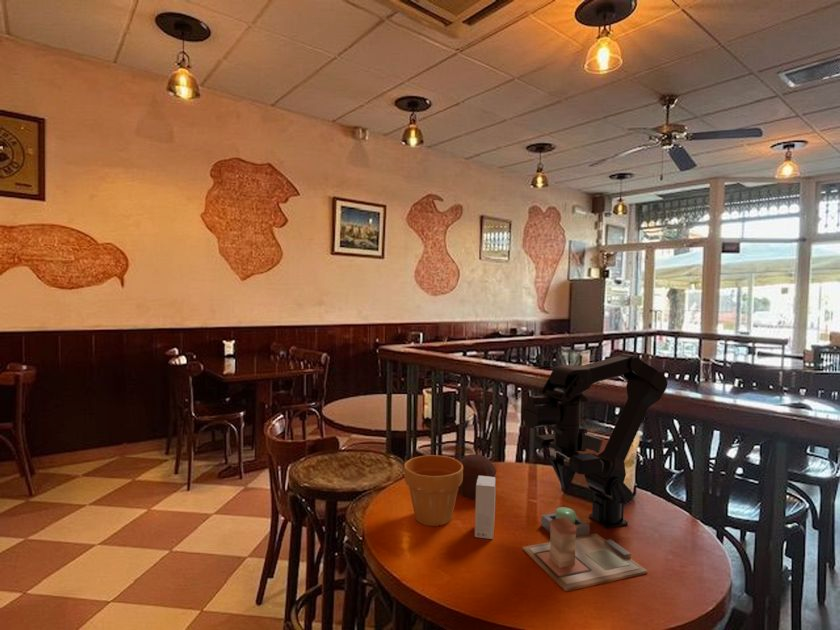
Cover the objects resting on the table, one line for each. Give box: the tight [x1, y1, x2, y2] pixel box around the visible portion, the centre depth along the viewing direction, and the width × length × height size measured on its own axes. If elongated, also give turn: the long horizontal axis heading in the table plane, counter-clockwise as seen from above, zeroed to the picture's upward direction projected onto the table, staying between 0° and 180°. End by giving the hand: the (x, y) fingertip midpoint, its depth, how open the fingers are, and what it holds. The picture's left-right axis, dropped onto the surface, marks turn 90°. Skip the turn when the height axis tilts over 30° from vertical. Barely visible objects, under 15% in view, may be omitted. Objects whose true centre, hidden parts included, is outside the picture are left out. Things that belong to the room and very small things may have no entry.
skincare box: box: [474, 475, 496, 540], centre depth 108 cm, size 6×4×12 cm
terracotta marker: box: [549, 518, 576, 568], centre depth 96 cm, size 4×4×8 cm
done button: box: [555, 506, 577, 524], centre depth 110 cm, size 4×4×3 cm
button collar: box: [541, 512, 591, 537], centre depth 110 cm, size 8×8×2 cm
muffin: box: [458, 453, 498, 501], centre depth 130 cm, size 12×11×10 cm
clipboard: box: [522, 533, 648, 592], centre depth 98 cm, size 19×15×2 cm
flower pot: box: [403, 454, 463, 527], centre depth 115 cm, size 14×14×13 cm
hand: (565, 489), depth 109 cm, fingers closed
